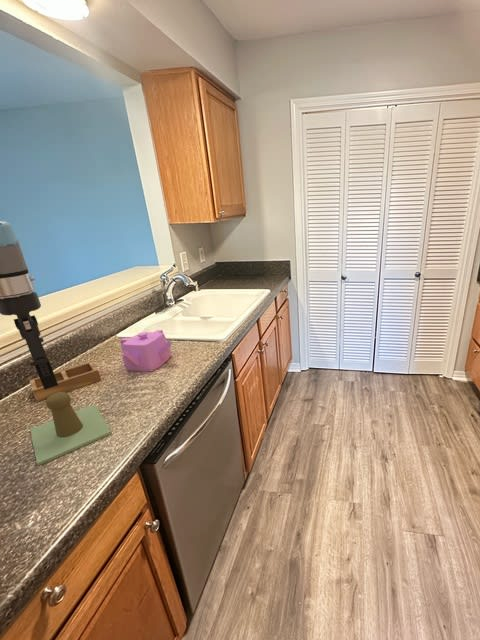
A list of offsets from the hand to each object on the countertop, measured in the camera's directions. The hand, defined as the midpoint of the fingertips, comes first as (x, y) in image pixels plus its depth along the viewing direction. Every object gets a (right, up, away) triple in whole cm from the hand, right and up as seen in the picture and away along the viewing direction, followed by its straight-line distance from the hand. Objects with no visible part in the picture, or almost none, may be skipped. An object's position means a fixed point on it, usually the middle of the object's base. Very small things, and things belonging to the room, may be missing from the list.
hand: (47, 376), depth 81 cm
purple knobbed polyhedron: (+6, -1, +43) cm, 43 cm away
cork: (+1, -15, +6) cm, 17 cm away
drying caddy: (-17, -7, +31) cm, 36 cm away
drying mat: (+1, -16, +7) cm, 17 cm away
